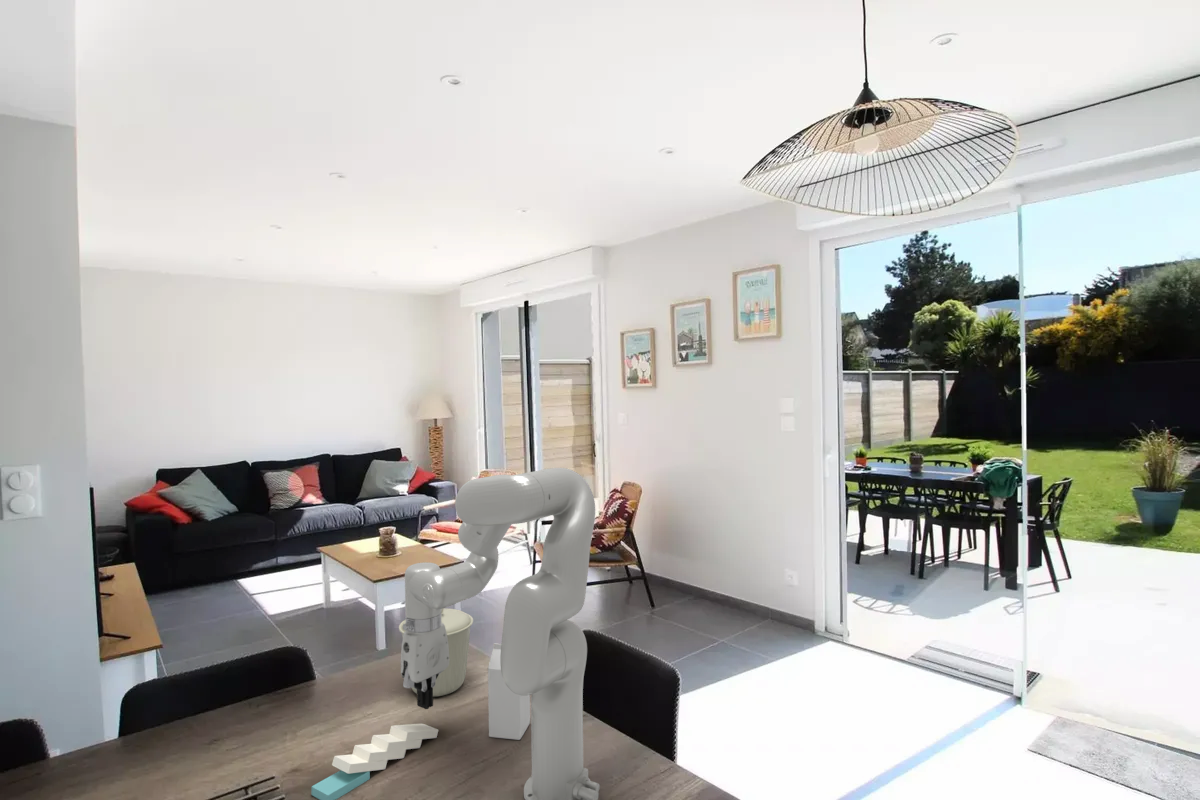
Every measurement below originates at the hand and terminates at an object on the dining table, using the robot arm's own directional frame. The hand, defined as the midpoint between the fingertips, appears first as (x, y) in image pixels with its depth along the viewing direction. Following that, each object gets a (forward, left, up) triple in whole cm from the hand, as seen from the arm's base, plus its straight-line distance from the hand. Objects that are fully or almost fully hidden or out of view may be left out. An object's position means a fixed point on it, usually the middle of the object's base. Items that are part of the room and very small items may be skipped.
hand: (425, 706), depth 140 cm
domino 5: (0, -1, -6) cm, 6 cm away
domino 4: (0, +4, -6) cm, 7 cm away
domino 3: (0, +8, -6) cm, 10 cm away
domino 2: (0, +16, -6) cm, 17 cm away
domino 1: (0, +12, -6) cm, 14 cm away
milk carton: (-14, -11, -7) cm, 19 cm away
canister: (+15, -17, -7) cm, 24 cm away
